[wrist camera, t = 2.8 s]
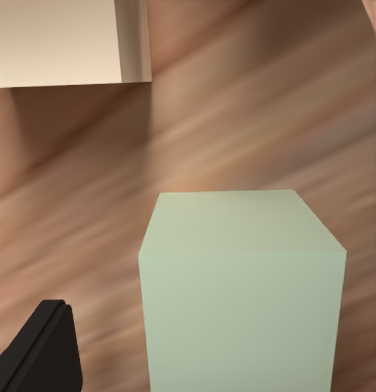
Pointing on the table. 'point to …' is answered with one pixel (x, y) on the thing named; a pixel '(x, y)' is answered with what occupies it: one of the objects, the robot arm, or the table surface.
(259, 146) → the table surface
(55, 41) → the maple cube
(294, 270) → the sage cube
